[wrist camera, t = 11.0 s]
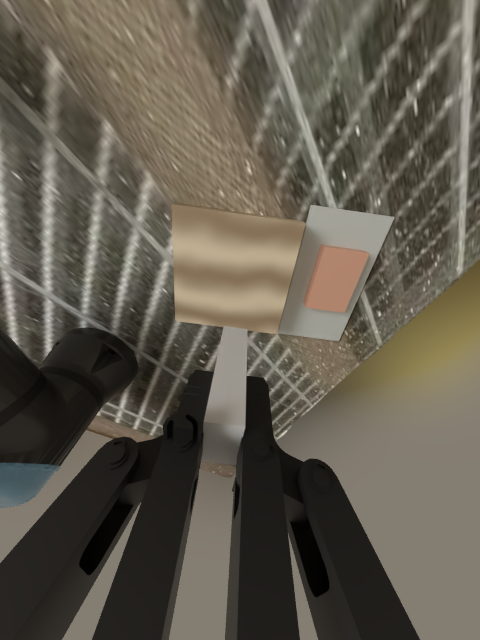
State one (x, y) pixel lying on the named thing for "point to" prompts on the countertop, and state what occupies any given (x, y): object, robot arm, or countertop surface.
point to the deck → (232, 266)
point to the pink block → (334, 278)
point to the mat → (319, 229)
